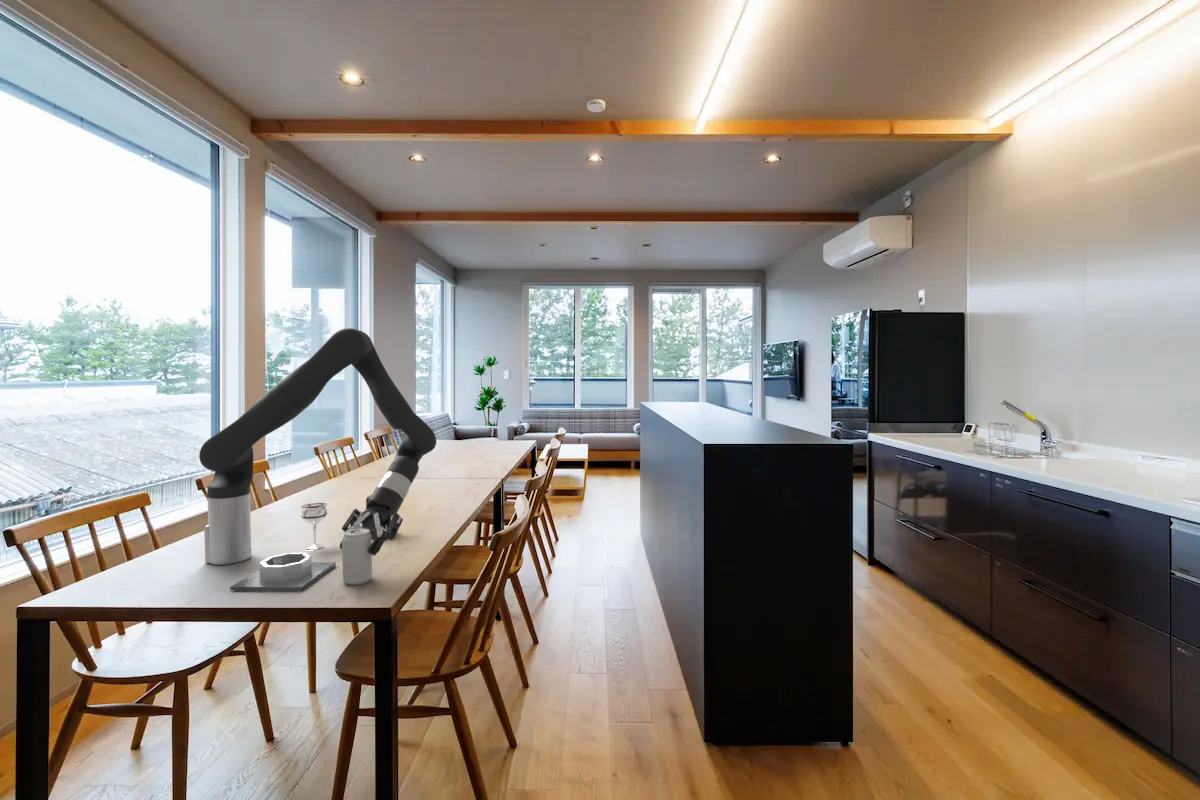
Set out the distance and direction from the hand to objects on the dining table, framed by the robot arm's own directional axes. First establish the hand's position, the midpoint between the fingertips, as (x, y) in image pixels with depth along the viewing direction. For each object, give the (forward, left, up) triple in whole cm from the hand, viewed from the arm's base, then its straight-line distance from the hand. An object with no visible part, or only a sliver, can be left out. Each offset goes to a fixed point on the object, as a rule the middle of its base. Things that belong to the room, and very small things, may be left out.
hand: (357, 551), depth 127 cm
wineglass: (-23, +25, -7) cm, 35 cm away
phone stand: (-10, +37, -7) cm, 39 cm away
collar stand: (-18, +2, -7) cm, 19 cm away
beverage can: (0, 0, -7) cm, 7 cm away
